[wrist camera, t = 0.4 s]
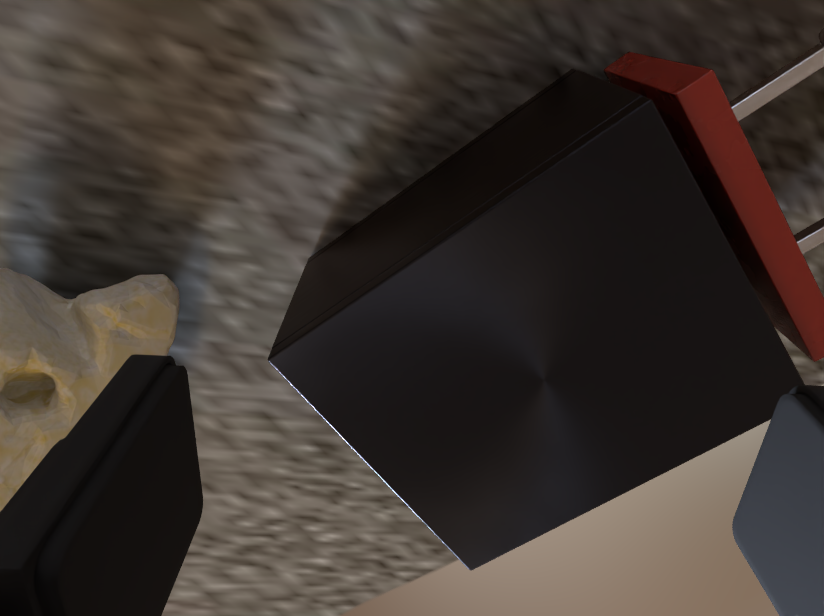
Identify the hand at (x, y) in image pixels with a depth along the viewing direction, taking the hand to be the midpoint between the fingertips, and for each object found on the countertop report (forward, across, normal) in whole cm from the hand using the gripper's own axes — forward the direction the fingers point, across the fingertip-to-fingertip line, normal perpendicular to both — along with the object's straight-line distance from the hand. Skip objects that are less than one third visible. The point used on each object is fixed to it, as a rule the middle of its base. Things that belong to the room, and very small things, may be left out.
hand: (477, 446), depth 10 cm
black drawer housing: (+20, -4, +5) cm, 21 cm away
